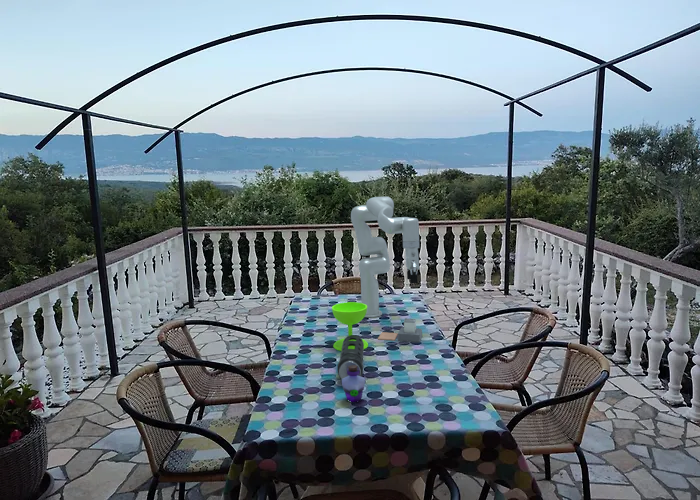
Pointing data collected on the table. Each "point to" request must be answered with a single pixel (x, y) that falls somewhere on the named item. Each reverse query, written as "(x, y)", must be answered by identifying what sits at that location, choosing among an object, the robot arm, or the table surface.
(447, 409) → the table surface
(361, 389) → the potion bottle
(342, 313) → the wineglass
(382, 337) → the mat
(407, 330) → the plug
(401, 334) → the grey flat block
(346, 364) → the muzzle brake
